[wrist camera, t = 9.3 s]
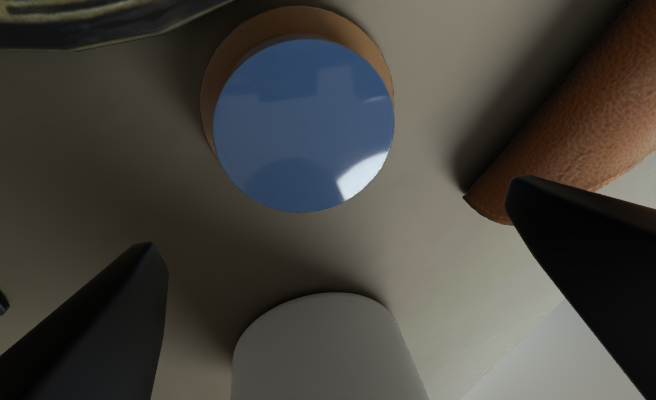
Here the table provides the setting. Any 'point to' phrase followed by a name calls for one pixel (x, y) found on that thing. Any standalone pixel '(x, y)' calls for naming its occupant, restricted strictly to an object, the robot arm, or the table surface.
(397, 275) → the table surface
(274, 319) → the cylinder vase
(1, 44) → the decorative plate
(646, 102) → the sunglasses case
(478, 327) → the table surface
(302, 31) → the coaster
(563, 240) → the robot arm
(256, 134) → the flat blue disc
